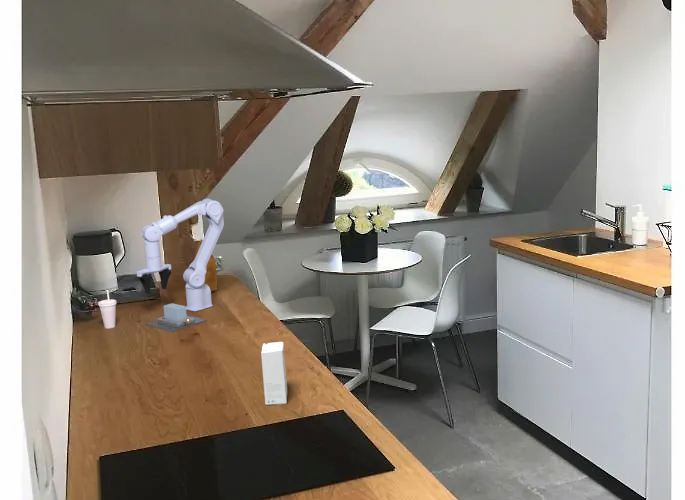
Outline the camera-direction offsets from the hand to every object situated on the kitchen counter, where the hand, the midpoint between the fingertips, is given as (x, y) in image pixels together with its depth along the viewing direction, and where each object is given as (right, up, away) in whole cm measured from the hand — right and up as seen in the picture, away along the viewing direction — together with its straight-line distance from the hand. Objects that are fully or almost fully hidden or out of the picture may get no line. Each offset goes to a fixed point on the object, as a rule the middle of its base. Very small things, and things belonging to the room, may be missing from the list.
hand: (156, 291), depth 268 cm
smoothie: (-14, -13, -12) cm, 22 cm away
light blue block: (+10, -11, -10) cm, 18 cm away
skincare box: (+54, -24, -81) cm, 101 cm away
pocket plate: (+10, -11, -10) cm, 18 cm away
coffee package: (+12, -2, +37) cm, 39 cm away
